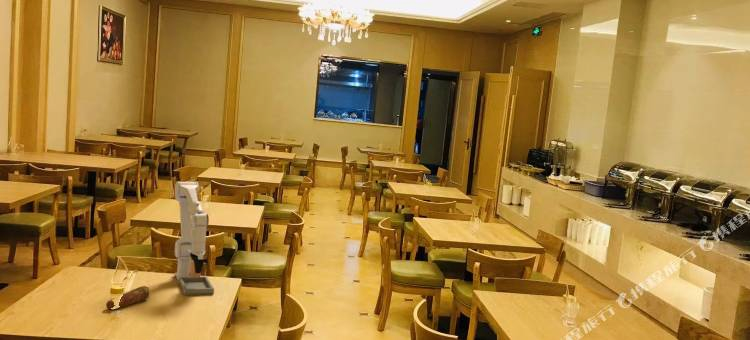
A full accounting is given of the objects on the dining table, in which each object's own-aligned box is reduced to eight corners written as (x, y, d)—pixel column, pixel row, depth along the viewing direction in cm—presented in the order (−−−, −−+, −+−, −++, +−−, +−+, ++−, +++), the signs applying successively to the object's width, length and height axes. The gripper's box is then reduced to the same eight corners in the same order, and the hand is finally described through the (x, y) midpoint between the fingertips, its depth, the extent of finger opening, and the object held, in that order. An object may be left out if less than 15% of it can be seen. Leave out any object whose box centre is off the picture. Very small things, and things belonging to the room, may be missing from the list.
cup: (187, 273, 277) (189, 258, 277) (199, 274, 279) (202, 259, 279) (188, 277, 272) (191, 261, 272) (201, 278, 275) (204, 262, 274)
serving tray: (178, 282, 283) (179, 277, 282) (206, 281, 288) (206, 276, 287) (184, 295, 266) (185, 289, 266) (213, 294, 271) (214, 288, 271)
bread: (150, 300, 258) (151, 287, 257) (112, 312, 240) (113, 298, 240) (139, 297, 260) (139, 283, 260) (100, 309, 243) (101, 295, 243)
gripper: (186, 237, 279) (184, 267, 281) (191, 244, 266) (190, 276, 268) (203, 236, 282) (201, 266, 284) (208, 244, 269) (207, 275, 271)
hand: (196, 271), depth 276 cm, fingers closed on cup, 5 cm apart
